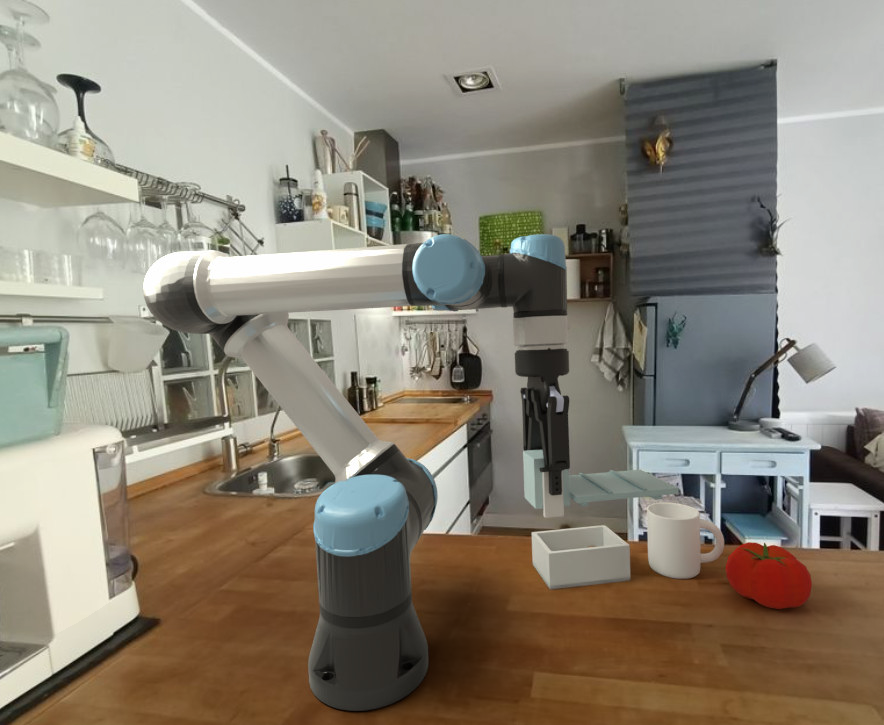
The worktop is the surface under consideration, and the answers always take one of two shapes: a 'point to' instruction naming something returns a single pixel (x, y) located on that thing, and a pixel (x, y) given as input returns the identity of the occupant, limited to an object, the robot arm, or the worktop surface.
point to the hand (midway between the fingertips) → (546, 508)
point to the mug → (678, 540)
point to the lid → (592, 484)
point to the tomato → (768, 575)
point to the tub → (580, 556)
